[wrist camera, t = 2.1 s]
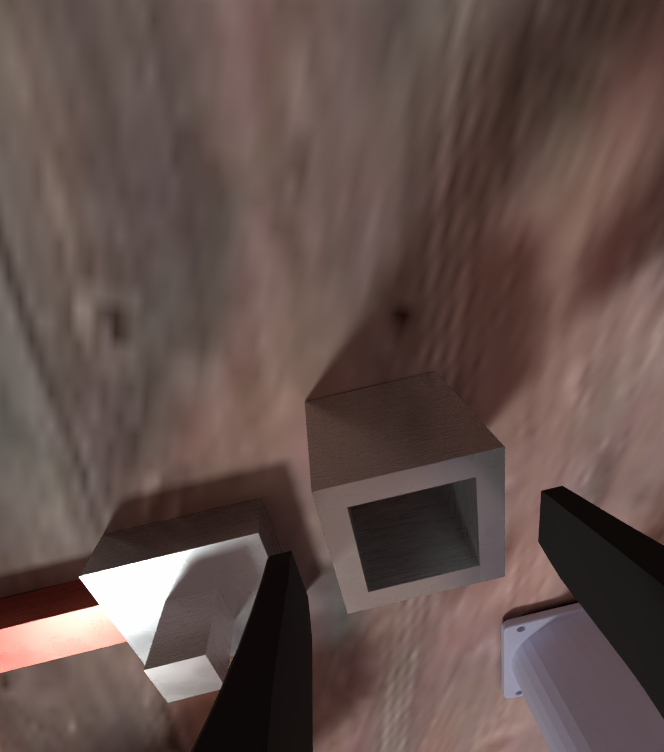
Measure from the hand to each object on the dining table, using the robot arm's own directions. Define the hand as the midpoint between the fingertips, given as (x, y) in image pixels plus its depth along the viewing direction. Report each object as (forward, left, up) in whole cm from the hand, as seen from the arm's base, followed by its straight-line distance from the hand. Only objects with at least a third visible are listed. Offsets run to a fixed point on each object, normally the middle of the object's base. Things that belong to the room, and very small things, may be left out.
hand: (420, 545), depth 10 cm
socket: (0, 0, -5) cm, 5 cm away
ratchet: (+15, +5, -5) cm, 17 cm away
